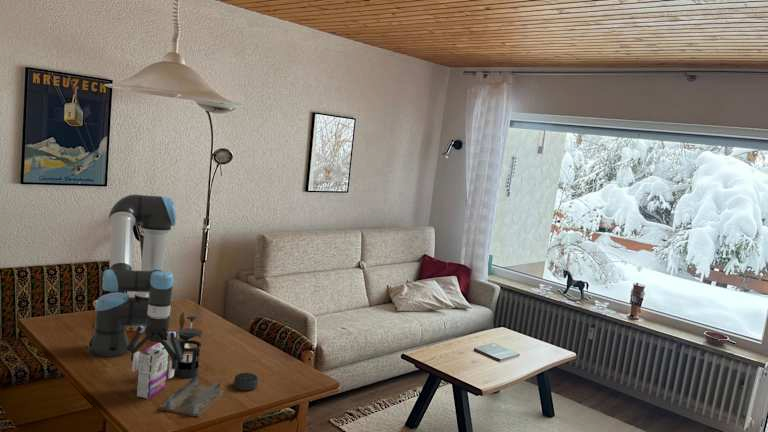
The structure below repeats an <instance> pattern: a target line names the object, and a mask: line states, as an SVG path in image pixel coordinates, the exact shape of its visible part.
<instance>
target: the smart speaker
mask: <svg viewBox="0 0 768 432" xmlns="http://www.w3.org/2000/svg"><path fill="white" fill-rule="evenodd" d="M258 384H259V378H258V376H257V375H256V374H253V373H250V372H241V373H238V374H236V375H235V376H234V379H233V386H234V387H235V388H236V389H238V390H240V391H245V392H246V391H248V392H249V391H252V390H255V389H256V388H258Z"/></svg>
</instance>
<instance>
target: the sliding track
mask: <svg viewBox="0 0 768 432" xmlns="http://www.w3.org/2000/svg"><path fill="white" fill-rule="evenodd" d="M220 387H221V382H220V381H215V382H214V383H213V384H212V385H211V386H206V385H202V384H199V377H194V378H191V380H189V381H188V382H187V383H186V384H184V385H183V386H182V387H181V388H179V389H178V390H177V391H176V392H175V393H173V394H172V395H171V396H170V397H169V398H167V399H166V400H165V401H164V402H163V403H162V404H161V405H160V406H159V410H160V411H161V410H162V411H166V412H171V413H175V414H180V415H181V414H182V415H185V416H191V417H196V418H200V417H201V416H202V415H203V414H204V413H205V412H206V411H207V410H208V409H209V408H210V407H211V406H212V405H213V404H214V403H215V402H216V401H217V400H218V399H219V398H220V397H221V396H222V395H223V394H224V393H225V389H221V388H220Z"/></svg>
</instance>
